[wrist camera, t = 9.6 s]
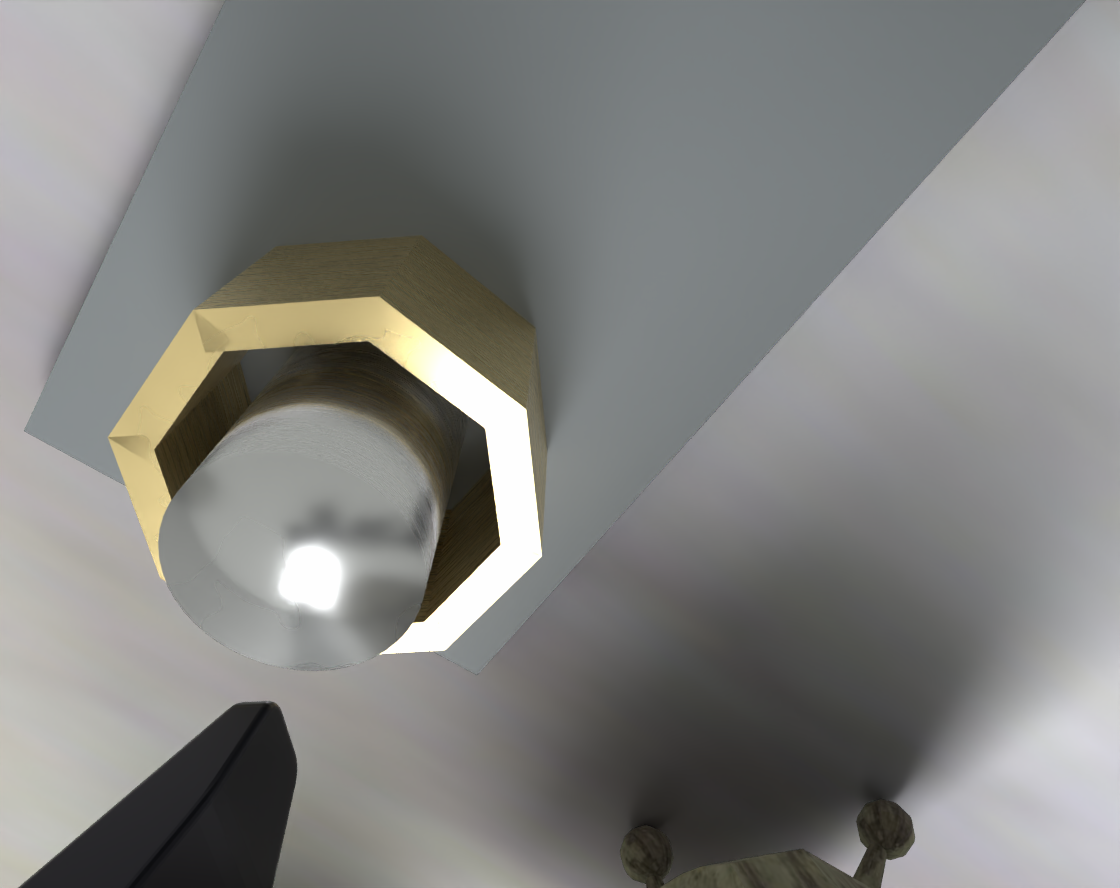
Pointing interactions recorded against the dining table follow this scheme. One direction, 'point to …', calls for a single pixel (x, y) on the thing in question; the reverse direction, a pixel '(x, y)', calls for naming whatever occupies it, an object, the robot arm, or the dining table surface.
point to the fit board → (502, 261)
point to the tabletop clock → (776, 858)
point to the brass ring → (405, 336)
